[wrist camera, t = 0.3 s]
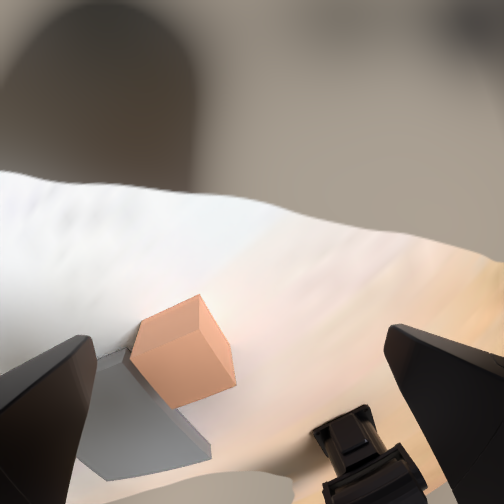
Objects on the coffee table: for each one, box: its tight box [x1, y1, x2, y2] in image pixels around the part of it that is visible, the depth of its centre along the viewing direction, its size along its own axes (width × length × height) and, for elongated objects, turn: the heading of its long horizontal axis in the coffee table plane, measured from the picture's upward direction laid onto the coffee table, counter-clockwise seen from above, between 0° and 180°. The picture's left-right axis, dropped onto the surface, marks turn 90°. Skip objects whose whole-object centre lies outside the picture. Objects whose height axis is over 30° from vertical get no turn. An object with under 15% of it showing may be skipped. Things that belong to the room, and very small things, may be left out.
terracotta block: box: [130, 294, 236, 409], centre depth 21 cm, size 5×5×5 cm
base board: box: [76, 347, 212, 481], centre depth 24 cm, size 14×14×2 cm
